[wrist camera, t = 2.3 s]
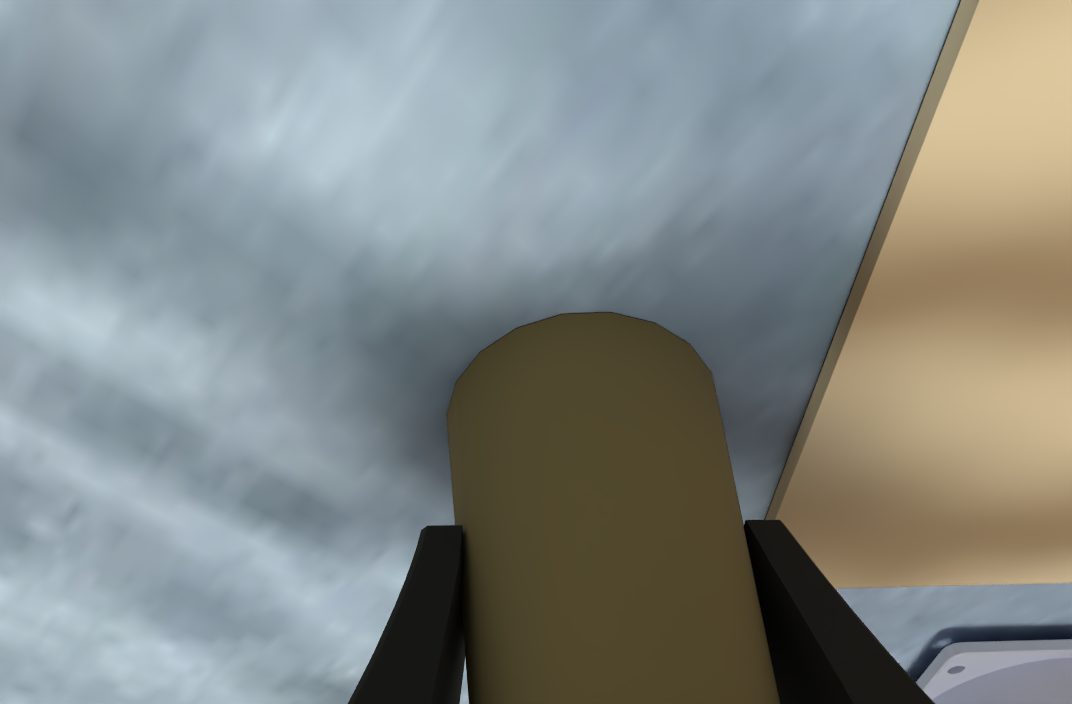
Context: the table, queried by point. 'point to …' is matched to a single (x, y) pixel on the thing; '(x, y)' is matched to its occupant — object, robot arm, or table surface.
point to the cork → (601, 523)
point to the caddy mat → (956, 335)
